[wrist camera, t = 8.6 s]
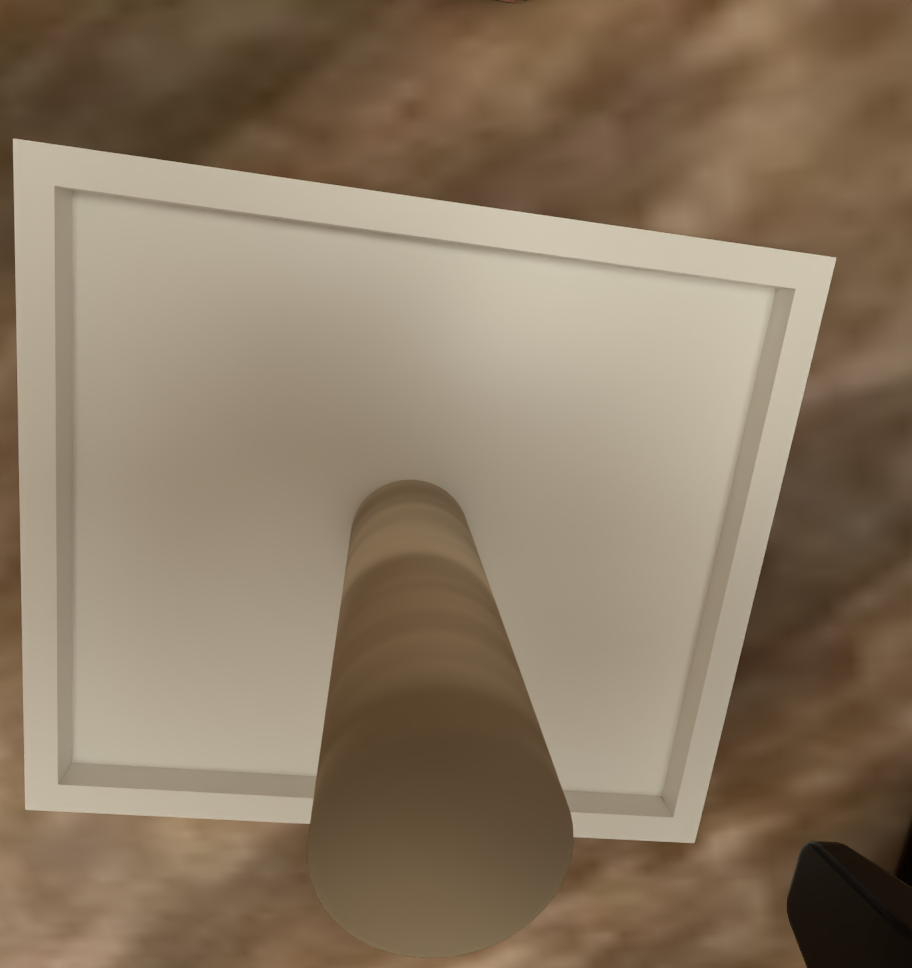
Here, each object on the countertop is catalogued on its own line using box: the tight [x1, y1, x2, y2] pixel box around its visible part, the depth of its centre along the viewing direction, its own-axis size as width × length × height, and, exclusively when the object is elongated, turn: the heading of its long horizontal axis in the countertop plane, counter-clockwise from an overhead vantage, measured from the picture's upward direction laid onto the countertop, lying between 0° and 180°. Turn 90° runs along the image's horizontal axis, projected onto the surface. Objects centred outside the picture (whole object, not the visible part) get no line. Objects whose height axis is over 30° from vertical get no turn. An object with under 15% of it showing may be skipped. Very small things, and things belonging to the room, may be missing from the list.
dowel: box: [307, 480, 574, 958], centre depth 14 cm, size 3×3×11 cm
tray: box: [13, 138, 836, 843], centre depth 19 cm, size 16×18×2 cm
